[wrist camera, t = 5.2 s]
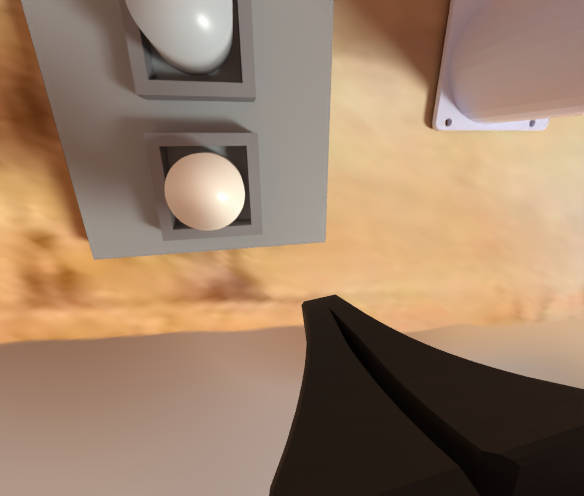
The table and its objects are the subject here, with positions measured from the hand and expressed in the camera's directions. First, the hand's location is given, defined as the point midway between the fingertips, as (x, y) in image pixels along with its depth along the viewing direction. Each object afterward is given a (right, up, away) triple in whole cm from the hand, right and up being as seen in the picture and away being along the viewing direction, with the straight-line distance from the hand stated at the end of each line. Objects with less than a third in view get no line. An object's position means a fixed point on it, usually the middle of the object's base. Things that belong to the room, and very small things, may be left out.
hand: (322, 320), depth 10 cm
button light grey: (-6, +13, +2) cm, 14 cm away
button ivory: (-6, +6, +5) cm, 10 cm away
